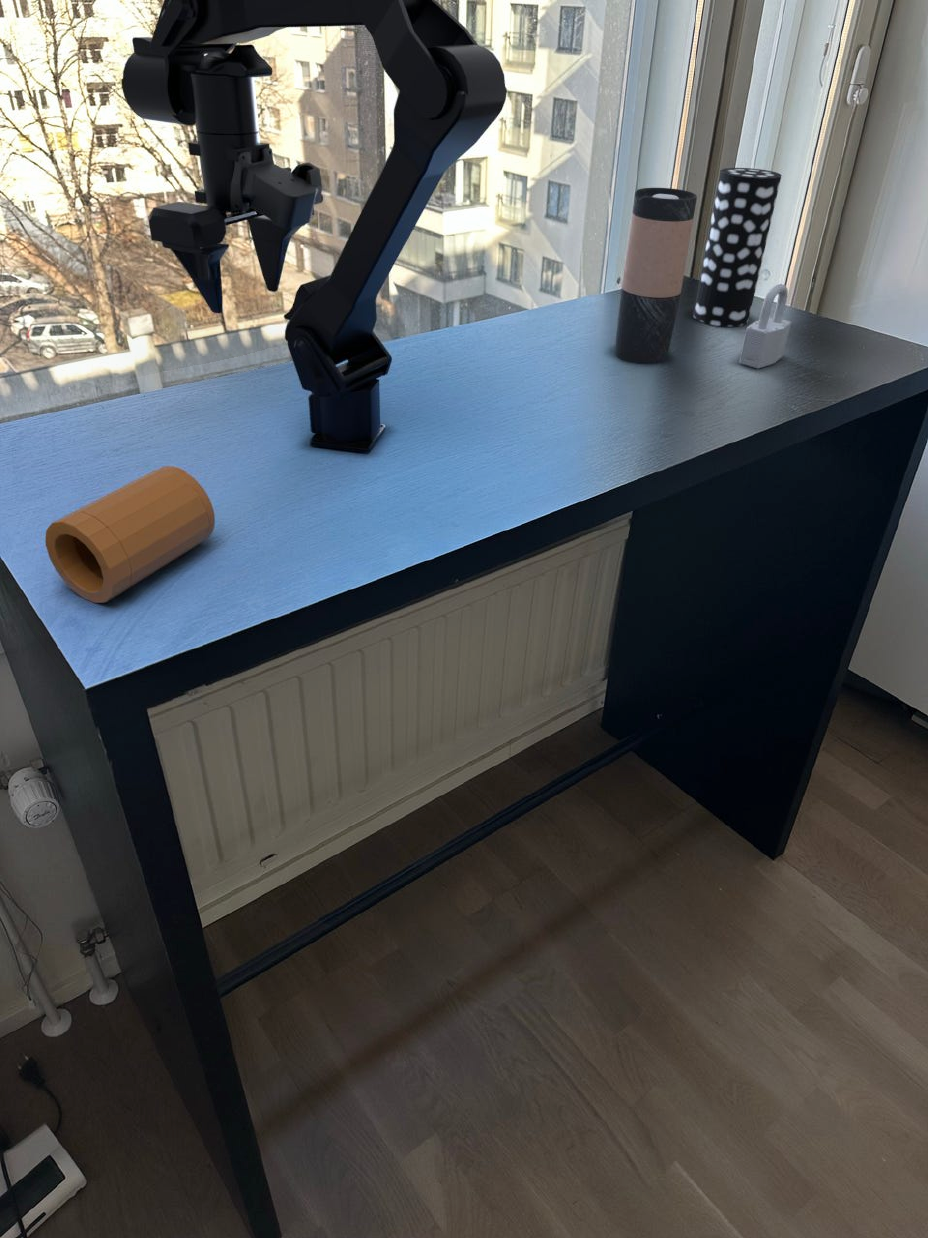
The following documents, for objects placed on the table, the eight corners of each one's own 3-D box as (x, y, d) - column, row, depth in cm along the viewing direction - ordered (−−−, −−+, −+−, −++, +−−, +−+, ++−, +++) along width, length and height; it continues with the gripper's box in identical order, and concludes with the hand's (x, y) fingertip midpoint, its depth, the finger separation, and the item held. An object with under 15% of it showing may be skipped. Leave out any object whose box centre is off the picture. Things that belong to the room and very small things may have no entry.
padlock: (761, 370, 114) (780, 292, 108) (734, 362, 116) (751, 285, 110) (786, 358, 118) (806, 282, 112) (759, 351, 120) (777, 276, 114)
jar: (192, 460, 69) (82, 518, 61) (227, 537, 72) (126, 601, 64) (140, 470, 73) (31, 526, 65) (175, 543, 76) (74, 604, 68)
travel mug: (677, 353, 118) (707, 192, 106) (656, 369, 113) (684, 202, 101) (626, 341, 121) (649, 184, 109) (602, 356, 116) (624, 193, 104)
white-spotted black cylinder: (752, 315, 134) (785, 171, 122) (742, 330, 127) (776, 180, 116) (699, 306, 136) (726, 165, 125) (687, 320, 130) (714, 173, 118)
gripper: (233, 151, 71) (253, 340, 80) (354, 129, 85) (359, 292, 94) (130, 137, 75) (160, 319, 84) (262, 118, 89) (275, 276, 98)
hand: (246, 301), depth 90 cm, fingers open, 9 cm apart
